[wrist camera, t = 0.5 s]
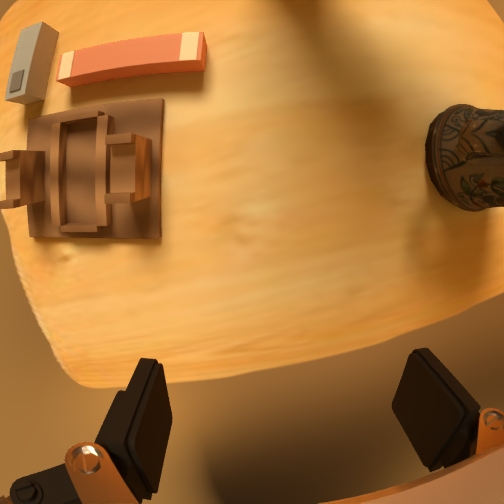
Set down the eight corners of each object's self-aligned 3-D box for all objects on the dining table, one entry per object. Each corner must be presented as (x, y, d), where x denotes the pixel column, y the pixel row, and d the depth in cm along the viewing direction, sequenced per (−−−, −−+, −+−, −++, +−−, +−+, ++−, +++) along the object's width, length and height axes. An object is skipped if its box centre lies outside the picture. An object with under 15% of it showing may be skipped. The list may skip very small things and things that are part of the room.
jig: (33, 120, 32) (-3, 114, 24) (164, 100, 34) (144, 82, 25) (33, 235, 37) (-1, 249, 29) (161, 236, 38) (141, 254, 30)
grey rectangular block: (39, 39, 29) (20, 29, 23) (59, 32, 29) (41, 20, 23) (25, 104, 32) (3, 100, 26) (45, 99, 32) (23, 93, 26)
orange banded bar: (75, 63, 31) (59, 54, 27) (207, 46, 32) (203, 31, 28) (71, 87, 32) (55, 80, 28) (204, 71, 33) (200, 59, 29)
